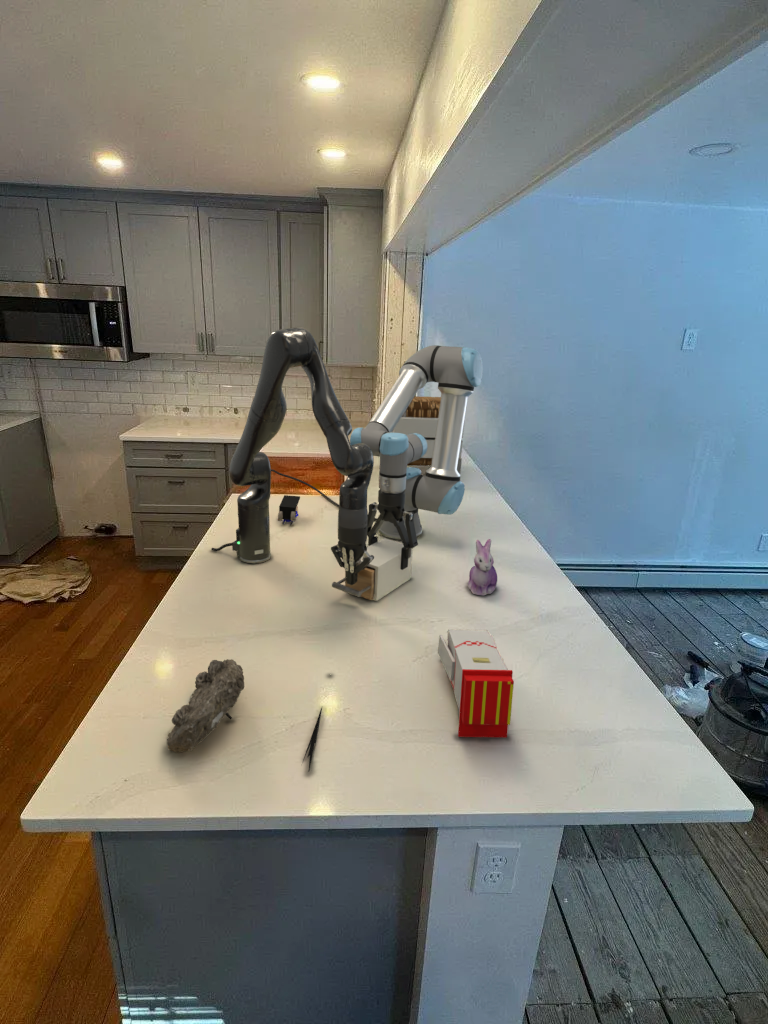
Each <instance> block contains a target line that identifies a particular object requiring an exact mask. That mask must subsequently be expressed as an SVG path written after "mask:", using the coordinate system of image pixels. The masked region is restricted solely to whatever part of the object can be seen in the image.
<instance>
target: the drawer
mask: <svg viewBox="0 0 768 1024" xmlns="http://www.w3.org/2000/svg"><path fill="white" fill-rule="evenodd" d="M359 565H360V564H359ZM343 583H344V584H343ZM331 587H332V588H334V589H335V590H339V591H342V592H344V593H347V594H349V595H352V596H355V597H356V598H357V597H358V598H360V597H361V598H363V599H366V600H369V601H373V600H372V599H373V594H374V591H375V569H374V568H371V567H368V566H367V567H366V568H365V569H364V570H362V571H360V572H358V578H357V582H356V583H355V584H353V585H350V584H347V581H346V570H345V569H344V577H343V578H342V579H340V580H338V581H333V582H332V583H331Z"/></svg>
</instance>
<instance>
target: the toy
mask: <svg viewBox="0 0 768 1024" xmlns="http://www.w3.org/2000/svg"><path fill="white" fill-rule="evenodd" d="M446 640H447V643H446V641H445V639H444V636H443V635H442V634H439V637H438V646H437V656H438V657H439V659H440V661H441V663H442V666H443V668H444V670H445V672H446V674H447V677H448V679H449V681H450V684H451V687H452V690H453V693H454V697H455V701H456V705H457V708H458V711H459V714H458V715H459V716H458V730H457V731H458V732H457V737H458V738H508V731H509V726H510V725H511V717H512V707H513V697H514V696H513V695H514V684H515V680H514V679H513V673H514V671H513V670H512V669H508V667H507V665H506V662H505V661H504V659H503V658H502V655H501V653H500V651H499V649H498V647H497V643H496V639H495V637H494V635H493V634H491V632H490V631H489V629H467V628H466V629H465V628H463V629H461V628H460V629H459V628H448V630H447V639H446Z"/></svg>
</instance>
